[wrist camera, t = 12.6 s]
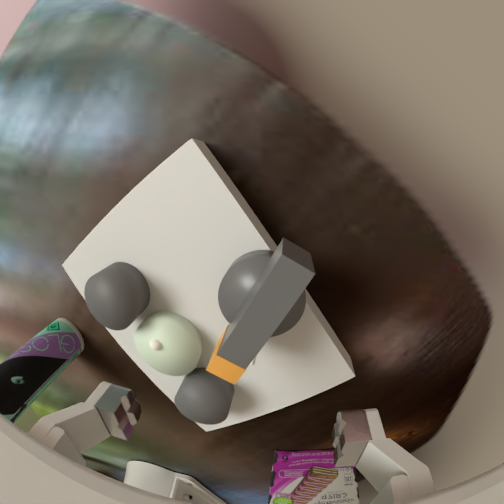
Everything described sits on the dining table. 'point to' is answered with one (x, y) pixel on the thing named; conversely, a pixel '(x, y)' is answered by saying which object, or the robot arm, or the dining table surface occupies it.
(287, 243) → the wing knob
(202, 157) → the base
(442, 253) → the dining table surface
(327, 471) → the candy bar box
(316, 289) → the dining table surface
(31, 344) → the spray can
